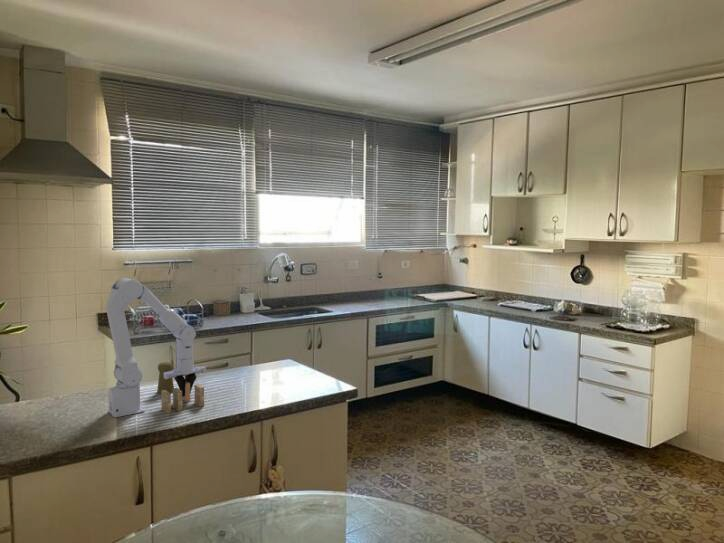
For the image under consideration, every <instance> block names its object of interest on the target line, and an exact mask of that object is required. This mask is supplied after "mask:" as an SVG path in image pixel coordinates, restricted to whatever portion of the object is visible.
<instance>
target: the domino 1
mask: <svg viewBox="0 0 724 543" xmlns="http://www.w3.org/2000/svg"><path fill="white" fill-rule="evenodd" d="M160 395H161V410H162V411H163V412H164V413H165V414H167V413H168V414H171V413H172V398H171V396H172V393H169V392H168V391H166V390H162V391H161V394H160Z"/></svg>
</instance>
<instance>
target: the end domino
mask: <svg viewBox="0 0 724 543" xmlns="http://www.w3.org/2000/svg"><path fill="white" fill-rule="evenodd" d="M195 403H196V404H195ZM194 404H195V405H197V404H198V405H199V406H198V405H197V406H198V407H200V406H202V407H205V387H204V386H203V385H201V384H199V383H198V384H197V383H196V384H194Z"/></svg>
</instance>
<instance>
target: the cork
mask: <svg viewBox="0 0 724 543" xmlns="http://www.w3.org/2000/svg"><path fill="white" fill-rule="evenodd" d="M157 370H158V372H159V375H158V382H157V392H156V394H159V395H161V391H162V390H166V391H168V392H169V393H171V394H173V388H175V387H174V380H173V378H169V379H164V373H165V372H169V371H173V370H174V366H173V363H172V362H171V361H163V362H159V364H158V365H157Z"/></svg>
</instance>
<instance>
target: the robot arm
mask: <svg viewBox="0 0 724 543" xmlns="http://www.w3.org/2000/svg"><path fill="white" fill-rule="evenodd" d="M136 300H140V301H142V302H144V303H145V304H146V305H147V306H148V307H150V309H152V310H153V311H154V312H155V313H156V314H158V315H159V321H160V322H161V323H162V324H163V326H165V328H167V329H168V330H169V331H170V332H171V333H172V335H173V337H175V338H176V339H175V343H176V344H175V346H176V348H175V349H176V351H175V352H176V354H175V356H176V357H175V359H176V369H172V371H169V372H165V373H164V379H169V378H172V379H173V378H174V381H175V382H176V384H177V386H178V389H179V390H181V391H182V396H183V397H184V396H185V381H188V382H189V383H190V394H191V392H192V389H193V386H194V385H195V382H196V380H197V375H196V374H202V373H204V374H206V373H207V367H206V366H204V365H203V366H195V365H194V339H195V338H196V336H197V332H196V330H195V328H194V327H193V326H192V325H190V324H188V320H187V319H185V318H183V317H181V315H180V314H179V311H178V310H177V309H173V308H167V307H166V306H165V305H164V304H163V303H162V302H161V301H160V299H158V297H157V296H156V295H155V294H153V292H152V291H151V290H150V289H149V288H148V287H147V286H145V285H144V284H142V283H141V281H139V280H137V279H133V278H128V277H120V278H118V279H117V280H116V281H115V282H114V283H113V284H112V285H111V289H110V293H109V296H108V298H107V301H106V303H105V309H106V315H107V319H108V325H109V328H110V334H111V340H112V345H113V349H114V353H115V359H114V370H113V376H114V378H115V379H116V384H115V386H112V387H109V388H108V391H107V392H108V393H107V394H108V395H107V397H108V399H107V400H108V402H107V403H108V405H107V406H108V409H107V411H108V413H109V414H110V415H111V416H112V417H113V418H119V417H123V416H130V415H133V414H134V415H135V414H140V413H144V412H145V409H144V408H142V407H141V381H142V379H143V372H142V371H141V370H140V368H139V367H138V363H137V361H136V359H135V357H134V354H133V348H132V343H131V339H130V334H129V329H128V323H127V319H126V318H127V317H126V312H125V310H126V308H128V306H129V305H130V304H131V303H132V302H134V301H136ZM194 366H195V367H194Z"/></svg>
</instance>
